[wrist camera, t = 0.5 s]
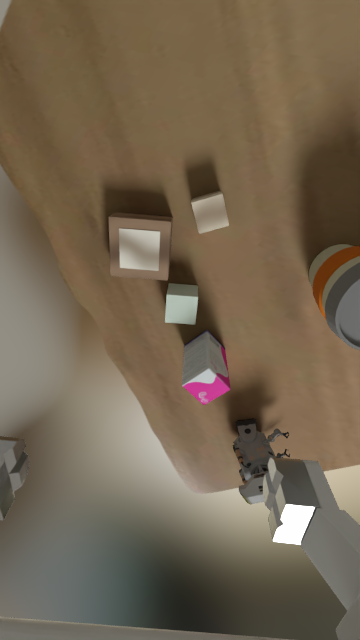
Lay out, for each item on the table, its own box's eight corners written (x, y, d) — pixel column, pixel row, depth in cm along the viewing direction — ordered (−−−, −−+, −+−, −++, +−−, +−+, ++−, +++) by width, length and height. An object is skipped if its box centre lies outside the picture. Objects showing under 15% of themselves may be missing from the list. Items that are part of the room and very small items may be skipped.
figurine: (284, 442, 71) (306, 509, 57) (234, 449, 72) (243, 515, 59) (282, 413, 67) (304, 477, 53) (228, 420, 68) (237, 485, 55)
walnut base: (114, 212, 48) (108, 216, 45) (172, 216, 48) (171, 221, 45) (116, 267, 53) (110, 276, 49) (169, 272, 53) (167, 280, 49)
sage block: (168, 282, 54) (166, 294, 49) (197, 285, 54) (198, 297, 49) (167, 309, 56) (165, 322, 52) (195, 311, 56) (195, 324, 52)
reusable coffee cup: (284, 260, 51) (317, 297, 38) (361, 216, 47) (427, 240, 34) (315, 317, 56) (353, 368, 42) (387, 281, 52) (453, 325, 39)
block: (191, 198, 47) (191, 202, 43) (220, 190, 47) (222, 193, 43) (198, 227, 49) (199, 233, 45) (226, 219, 48) (229, 225, 45)
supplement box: (182, 346, 60) (180, 385, 49) (207, 328, 58) (210, 366, 47) (201, 365, 62) (203, 406, 51) (226, 349, 60) (232, 389, 49)
